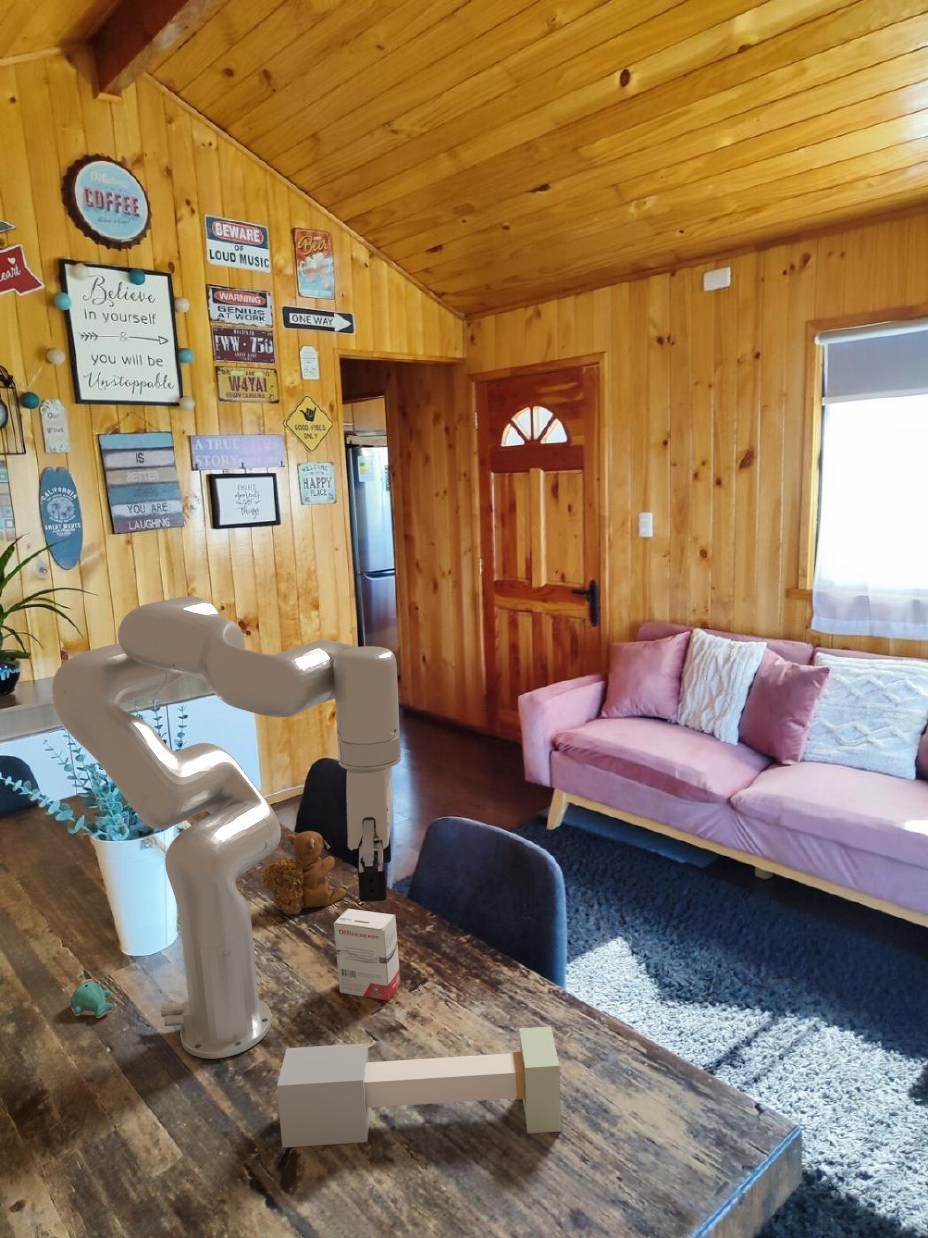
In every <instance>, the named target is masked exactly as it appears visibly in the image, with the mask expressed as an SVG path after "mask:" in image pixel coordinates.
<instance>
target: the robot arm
mask: <svg viewBox="0 0 928 1238" xmlns="http://www.w3.org/2000/svg"><path fill="white" fill-rule="evenodd" d="M118 626H119V627H118V629H117V640H118V642H117V643H114V644H109V645H106V646H101V647H97V648H93V649H90V650H87V651H85V652H81V653H79V654H77V655H74V656H73V657H71V658H69V659H67V660H66V661H65V662H63V664H61V665H60V666H59V668H58V669H57V670H56V672H55V674H54V676H53V680H52V686H51V693H52V700H53V701H52V702H53V705H54V709H55V711H56V712H55V713H56V715H57V717H58V718H59V720H60V722H61V724H62V725H63V727H64V728H65V730H66V731H67V732H68V733H69V734H70V735H71V737H72V738H74V740H75V741H76V742H77V743H78V744H79V745H81V746H82V747H83V748H84V749H85V750H86V751H87V752H88V753H89V754H90V755H91V756H92V757H93V758H94V759H95V760H96V761H97V763H98V764H99V765H100V766H101V768H102V769H103V770H104V771H105V773H106V775H107V776H108V777H109V779H110V780H111V782H113V784H114V785H115V786H116V788H117V789H118V791H119V792H120V793H121V795H122V796H123V798H124V799H125V800H126V801H127V803H128V804H129V806H130V807H131V808H132V809H133V811H134V812H135V813H136V814H137V816H138V818H140V819H141V821H142V822H143V823H145V824H146V825H147V826H148V827H150V828H152V829H154V830H165V829H169V828H172V827H174V826H176V825H178V824H181V823H182V822H186V821H187V820H189V819H190V818H193V817H195V816H196V815H198V814H200V813H202V812H204V811H205V810H206V811H207V812H208V813H209V814H210V815H208V816H206V817H204V818H203V819H201V820H198V821H197V822H195V823H193V824H192V825H190V826H188V827H186V828H185V829H184V830H183V831H182V832H180V833H178V835H176V836H175V838H174V839H172V841H171V842H170V844H169V846H168V848H167V850H166V853H165V856H164V857H165V858H164V859H165V860H164V866H165V872H166V874H167V878H168V881H169V884H170V887H171V889H172V892H173V896H174V899H175V903H176V907H177V908H176V909H177V914H178V915H177V916H178V920H179V928H180V929H179V930H180V938H181V943H182V945H181V946H182V951H183V961H184V962H183V963H184V971H185V981H186V988H187V990H186V991H187V997H188V999H184V1001H183V1002H163V1003H162V1005H161V1009H160V1015H161V1018H164V1020H163V1021H164V1027H175V1026H180V1027H181V1030H180V1043H181V1046H182V1047H183V1049H184V1051H186V1052H187V1053H188V1054H189V1055H192V1056H194V1057H198V1058H200V1059H201V1058H202V1059H209V1060H210V1059H211V1060H212V1059H223V1058H228V1057H232V1056H235V1055H238V1054H240V1053H243V1052H245V1051H248V1050H249V1049H251V1048H253V1047H254V1046H255V1045H257V1044H258V1043H260V1041H261V1040H263V1038H265V1037H266V1035H267V1033H268V1032H269V1031H270V1028H271V1026H272V1020H273V1019H272V1012H271V1009H270V1007H269V1005H268V1004H266V1002H264V1001H263V1000H261V999H259V989H258V978H257V977H258V976H257V968H256V967H257V966H256V957H255V955H256V954H255V945H254V935H253V925H252V915H251V909H250V906H249V903H248V901H247V899H246V898H245V897H244V895H243V894H242V893H241V892H240V891H239V890H238V888H237V881H238V879H239V878H240V877H242V876H243V875H245V874H246V873H247V872H248V871H249V870H251V869H252V868H254V867H255V866H257V865H258V864H260V863H261V862H263V861H264V860H265V859H267V858H269V856H271V855H272V854H273V853H274V852H275V851H276V849H277V848H278V847H279V844H280V841H281V838H282V829H281V825H280V821H279V819H278V816H277V814H276V813H275V811H274V809H273V807H272V806H271V804H270V803H269V802H268V800H266V798H265V797H264V795H263V794H262V793H261V792H260V790H259V789H258V788H257V786H256V785H255V784H254V783H253V780H251V779H250V777H249V776H248V775H247V773H246V772H245V771H244V769H243V768H242V767H241V766H240V764H239V763H238V762H237V761H236V759H235V758H234V757H233V756H232V755H231V754H230V753H229V752H228V751H227V750H226V749H224V748H222V747H220V746H219V745H216V744H214V743H209V742H199V743H194V744H192V745H190V746H186V747H184V748H182V749H180V750H177V751H176V750H173V749H171V747H170V746H168V745H167V744H166V743H165V741H164V739H162V738H161V735H159V733H158V732H157V731H156V729H154V727H152V725H151V724H149V723H148V722H146V721H145V720H144V719H142V718H140V717H139V716H137V715H135V714H133V713H130V712H128V711H126V710H124V709H122V708H121V706H120V704H124V703H128V702H130V701H133V700H137V699H139V698H142V697H146V696H148V695H151V694H155V693H157V692H161V691H162V690H165V689H166V688H168V687H170V686H171V685H173V684H175V682H177V681H178V680H179V679H181V678H182V677H183V676H186V677H190V678H193V679H197V680H201V681H205V682H206V684H207V687H208V688H209V689H210V690H211V692H212V693H213V694H214V695H216V696H217V698H218V699H219V700H221V702H223V703H225V705H229V706H231V707H232V708H235V709H238V710H242V711H245V712H249V713H253V714H257V715H260V716H265V717H271V718H290V717H294V716H296V715H299V714H301V713H303V712H305V711H308V710H309V709H312V708H313V707H316V706H318V705H320V704H324V703H326V702H327V703H328V702H330V701H332V700H334V704H335V715H336V716H335V718H336V734H337V752H338V755H337V756H338V765H339V766H340V767H341V768H343V769H346V823H347V848H348V849H349V850H350V851H354V850H357V849H359V850H358V856H359V857H358V869H357V878H358V879H357V880H358V881H357V882H358V895H359V896H358V897H359V901H360V902H361V903H364V902H365V903H366V902H367V903H368V902H369V903H370V902H386V900H387V898H388V897H387V896H388V895H387V874H386V867H385V866H384V864H385V863H386V864H387V863H388V864H389V863H390V862H392V851H391V850H392V849H391V848H392V847H391V829H392V823H393V822H392V819H393V803H394V802H393V801H394V799H393V798H394V797H393V796H394V795H393V768H392V767H394V766H396V765H398V764H399V763H400V762H401V760H402V755H401V754H402V753H401V751H402V749H401V735H400V734H401V733H400V713H399V710H400V708H399V688H398V686H399V685H398V684H399V683H398V665H397V660H396V659H397V658H396V656H395V654H394V653H393V651H392V650H390V649H389V648H386V647H382V646H370V645H369V646H355V645H351V644H347V643H345V642H340V641H336V640H332V639H320V640H316V641H311V642H309V643H305V644H303V645H299V646H296V647H293V648H290V649H287V650H283V651H280V652H279V653H278V652H277V653H276V654H268V653H262V652H258V651H253V650H250V649H249V650H248V649H245V647H246V646H245V644H246V643H245V637H244V633H243V631H242V629H241V628H240V626H239V624H237V623H236V621H233V620H231V619H229V618H225V617H224V618H223V617H222V616H221V614H220V612H219V610H218V609H217V607H215V606H214V605H213V604H212V603H211V602H209V600H207V599H204V598H202V597H199V596H193V595H186V596H180V597H175V598H169V599H163V600H160V601H159V600H158V601H154V602H150V603H145V604H142V605H139V606H138V607H135V608H134V609H132V610H131V611H130V612H128V613H127V614H126V615H125V616H124V618H123V619H122V620H121V622H120V624H119V625H118Z"/></svg>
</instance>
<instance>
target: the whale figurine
mask: <svg viewBox="0 0 928 1238" xmlns="http://www.w3.org/2000/svg"><path fill="white" fill-rule="evenodd" d="M111 995H112V992H111V991H110V990H104V989H103V988H102V986H101V985H100V984H99V983H97V982H93V981H92V982H89V981H88V982H86V983H83V984H81V985H80V986H77V988H76V989H75V990H74V991H73V993H72V995H71V999H70V1009H71V1010H72V1012H73V1015H74V1016H76V1017H78V1016H95V1017H96V1018H98V1019H100V1018H102V1017H104V1016H105V1015H107V1014H108V1013H110V1012H112V1011H114V1008H115V1005H114V1004H113V1003H109V1002H106V1000H108V999H110V997H111Z"/></svg>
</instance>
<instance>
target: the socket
mask: <svg viewBox="0 0 928 1238" xmlns="http://www.w3.org/2000/svg"><path fill="white" fill-rule="evenodd" d="M518 1032H519V1034H518V1035H519V1052H521V1053H522V1056H523V1063H524V1069H525V1093H526V1098H525V1099H522V1103H523V1111H524V1117H525V1118H524V1119H525V1125H526V1132H527V1134H538V1133H540V1134H542V1133H555V1132H556V1133H557V1132H558V1133H559V1132H562V1114H561V1112H562V1111H561V1110H562V1109H561V1108H562V1107H561V1078H560V1076H561V1075H560V1073H561V1072H560V1062H559V1056H558V1054H557V1048H556V1044H555V1038H554V1035H553V1034H554V1033H553V1029H552V1026H538V1027H521V1028H519V1029H518Z"/></svg>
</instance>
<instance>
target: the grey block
mask: <svg viewBox="0 0 928 1238" xmlns="http://www.w3.org/2000/svg"><path fill="white" fill-rule="evenodd" d="M366 1062H370V1061H369V1048H368V1043H367V1042H365V1043H352V1044H335V1045H332V1044H331V1045H318V1046H301V1047H299V1046H298V1047H287V1048H286V1049H285V1053H284V1057H283V1060H282V1063H281V1064H282V1065H281V1068H280V1073H279V1076H278V1080H277V1083H276V1093H277V1102H278V1113H279V1124H280V1135H281V1137H280V1138H281V1145H282V1146H281V1147H282V1148H296V1147H297V1148H298V1147H299V1148H300V1147H311V1146H325V1145H326V1146H327V1145H341V1144H343V1145H344V1144H345V1145H346V1144H354V1143H356V1144H357V1143H358V1144H359V1143H368V1139H369V1130H370V1119H371V1110H372V1107H371V1108H366V1102H365V1088H364V1078H365V1069H366Z"/></svg>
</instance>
